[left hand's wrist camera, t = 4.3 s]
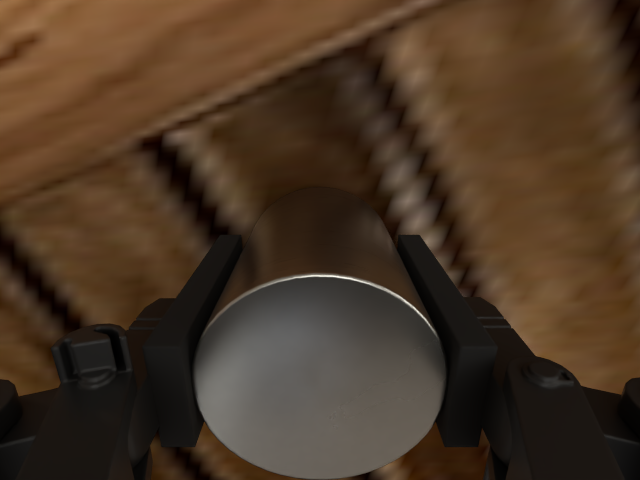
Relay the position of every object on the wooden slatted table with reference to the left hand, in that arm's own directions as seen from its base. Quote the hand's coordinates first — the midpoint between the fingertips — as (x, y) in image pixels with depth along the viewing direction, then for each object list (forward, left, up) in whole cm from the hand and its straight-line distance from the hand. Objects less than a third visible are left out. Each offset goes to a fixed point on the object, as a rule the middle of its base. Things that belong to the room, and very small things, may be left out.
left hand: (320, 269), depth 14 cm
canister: (0, 0, -1) cm, 1 cm away
